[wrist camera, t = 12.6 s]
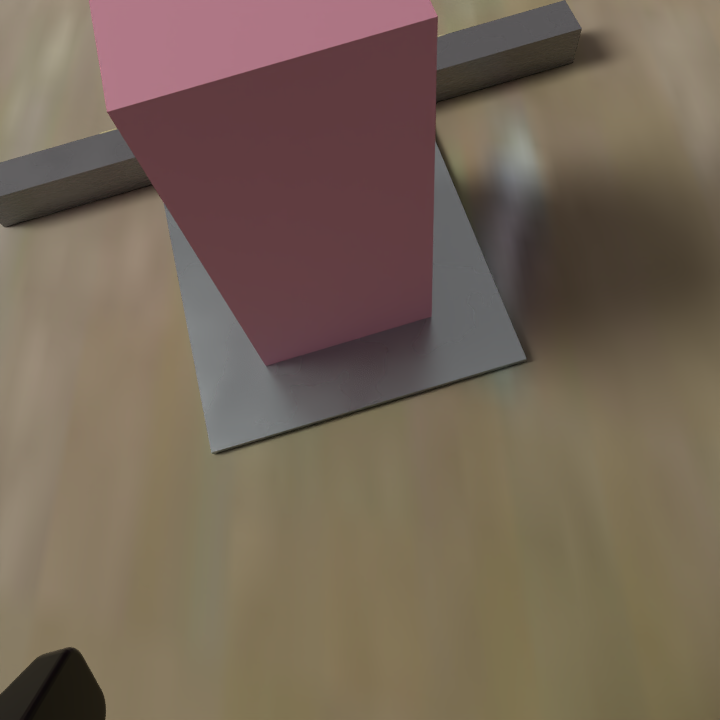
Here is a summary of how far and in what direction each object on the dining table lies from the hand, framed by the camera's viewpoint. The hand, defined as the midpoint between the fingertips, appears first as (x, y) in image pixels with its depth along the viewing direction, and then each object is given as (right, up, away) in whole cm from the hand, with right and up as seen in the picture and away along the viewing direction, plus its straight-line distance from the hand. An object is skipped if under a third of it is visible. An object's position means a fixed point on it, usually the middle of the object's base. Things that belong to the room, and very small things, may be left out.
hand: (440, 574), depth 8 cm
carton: (-2, +6, +14) cm, 15 cm away
